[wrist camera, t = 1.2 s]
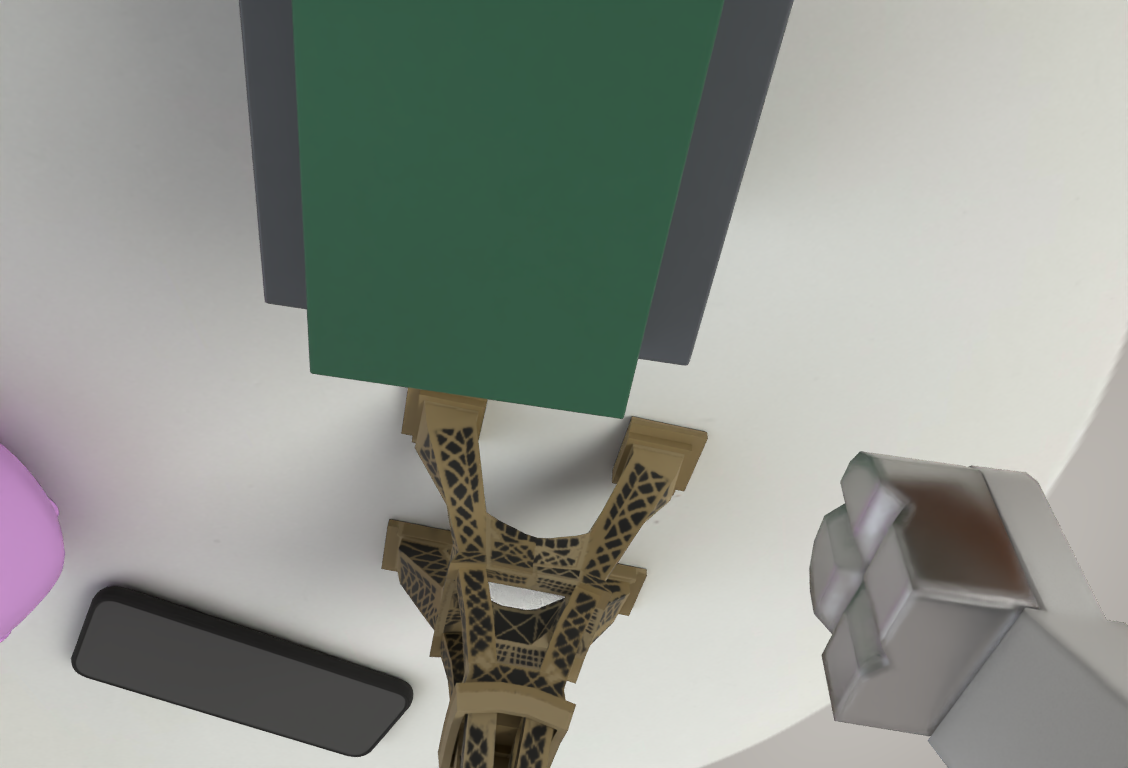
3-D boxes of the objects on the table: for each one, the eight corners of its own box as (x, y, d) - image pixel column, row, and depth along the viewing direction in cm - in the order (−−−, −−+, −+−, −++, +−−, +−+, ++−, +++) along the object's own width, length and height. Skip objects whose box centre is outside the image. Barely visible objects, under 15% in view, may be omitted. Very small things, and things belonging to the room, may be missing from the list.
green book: (322, -481, 12) (264, -504, 10) (793, -395, 13) (822, -403, 11) (340, 305, 21) (309, 374, 19) (624, 348, 21) (623, 420, 19)
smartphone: (364, 764, 47) (64, 674, 43) (368, 746, 48) (73, 656, 43) (420, 697, 43) (93, 590, 38) (423, 679, 43) (103, 572, 39)
